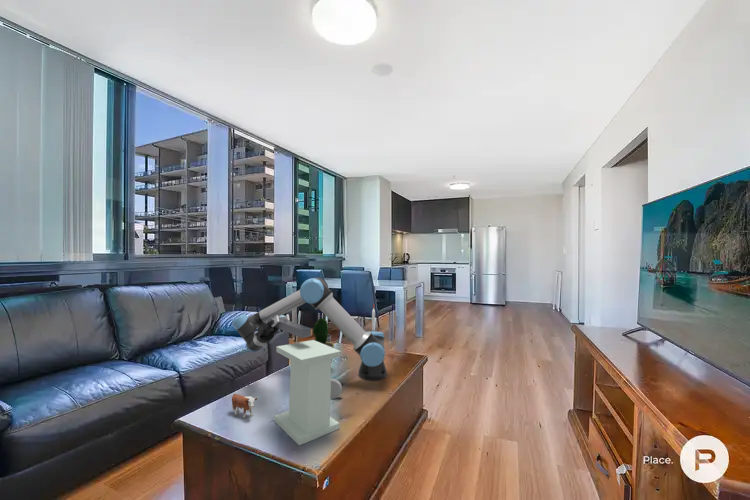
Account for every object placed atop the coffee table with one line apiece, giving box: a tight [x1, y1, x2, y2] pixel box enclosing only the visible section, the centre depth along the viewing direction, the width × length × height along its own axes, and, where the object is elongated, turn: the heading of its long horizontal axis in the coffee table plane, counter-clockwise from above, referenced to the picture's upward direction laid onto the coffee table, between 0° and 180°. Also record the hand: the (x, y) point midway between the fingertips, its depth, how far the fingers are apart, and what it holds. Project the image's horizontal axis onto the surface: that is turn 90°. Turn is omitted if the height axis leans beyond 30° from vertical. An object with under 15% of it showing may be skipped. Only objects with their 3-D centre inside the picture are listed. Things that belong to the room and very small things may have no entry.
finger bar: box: [269, 316, 313, 339], centre depth 128 cm, size 30×5×3 cm, turn 42°
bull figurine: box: [231, 393, 258, 419], centre depth 120 cm, size 4×13×8 cm, turn 58°
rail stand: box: [273, 339, 342, 446], centre depth 114 cm, size 20×16×28 cm
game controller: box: [330, 378, 343, 400], centre depth 138 cm, size 20×2×8 cm, turn 81°
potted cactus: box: [312, 317, 335, 364], centre depth 167 cm, size 15×15×30 cm
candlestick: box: [371, 304, 376, 332], centre depth 191 cm, size 11×11×35 cm
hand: (283, 317), depth 132 cm, fingers closed on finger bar, 4 cm apart
